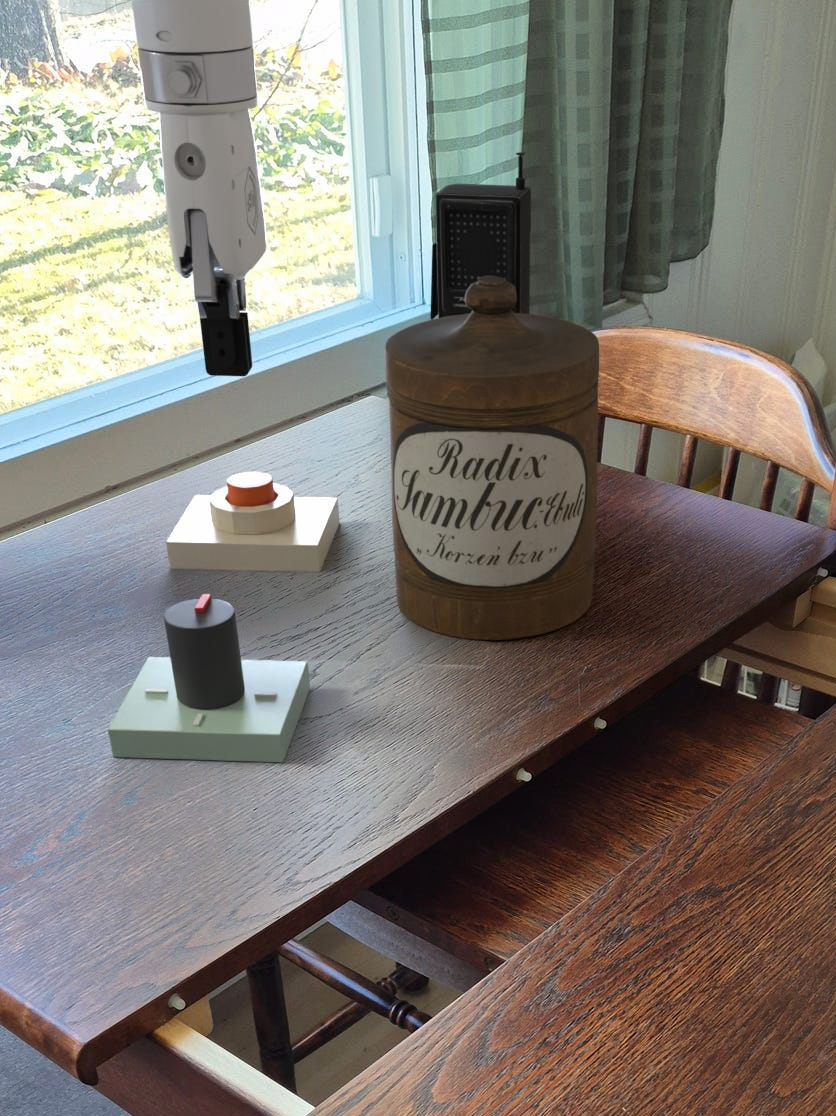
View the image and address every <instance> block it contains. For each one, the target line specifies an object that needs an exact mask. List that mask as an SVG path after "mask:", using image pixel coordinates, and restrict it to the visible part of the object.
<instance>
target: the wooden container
mask: <svg viewBox="0 0 836 1116" xmlns="http://www.w3.org/2000/svg"><path fill="white" fill-rule="evenodd" d="M516 300H517V294H516V289H515V287H514V285H513V284H511V283H509V282H506V280H505V279H504V278H501V277H497V276H483V277H480V278H479V279H478V281H477V282H475V283H473V284H471V285H470V287H469V288H468V289H467V291H466V293H465V303H466V305H467V306H468V307H469V308H470V309H471V310H472V312H471V313H470V314H462V315H454V316H448V317H442V318H439V317H438V318H434V319H433V320H431V319H429V320H426V321H422V322H417V323H415V324H413V325H409V326H407V327H405V328H403V329H400V330H399V331H397V332H395V333H394V334H392V335H391V336H390V337H389V338H388V339H386V342H385V346H384V375H385V376H384V378H385V385H386V388H385V389H386V396H387V398H388V413H389V414H388V415H389V445H390V446H389V447H390V449H389V450H390V478H391V479H390V490H391V491H390V492H391V495H390V497H391V499H390V500H391V520H392V521H391V522H392V526H391V527H392V545H393V546H392V548H393V552H394V573H395V574H394V576H395V591H396V603H397V605H398V608H399V610H400V611H401V612H402V613H403V615H404V616H405V617H406V618H407V619H409V620H410V621H412V622H413V623H414V624H417V625H418V626H420V627H423V628H424V629H427V630H429V631H432V632H435V633H437V634H442V635H446V636H449V637H454V638H455V637H456V638H460V639H468V640H479V641H480V640H481V641H484V640H485V641H505V640H506V641H507V640H517V639H524V638H525V639H526V638H530V637H531V638H532V637H536V636H539V635H543V634H547V633H550V632H553V631H556V630H559V629H561V628H564V627H566V626H569V625H570V624H572V623H574V622H575V621H577V620H578V619H580V618H581V617H582V616H583V615H584V614H585V613H586V612H587V611H588V610H589V608H590V607H591V603H592V601H593V595H594V578H595V575H594V574H595V552H596V551H595V550H596V539H597V515H598V514H597V511H598V506H597V505H598V439H599V430H598V429H599V393H598V392H599V376H600V342H599V339H598V337H597V335H596V334H594V333H593V332H592V331H591V330H589V329H587V327H586V328H585V327H584V326H581V325H579V324H577V323H574V322H571V321H568V320H566V319H561V318H557V317H556V318H555V317H552V316H547V315H542V314H541V315H540V314H533V313H532V314H531V313H529V314H522V313H514V312H513V311H512V309H513V308H514V306H515V303H516Z"/></svg>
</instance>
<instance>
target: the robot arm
mask: <svg viewBox="0 0 836 1116" xmlns="http://www.w3.org/2000/svg"><path fill="white" fill-rule="evenodd" d="M131 4H132V12H133V20H134V28H135V36H136V43H137V47H138V48H137V53H138V61H139V68H140V76H141V84H142V91H143V92H142V93H143V100H144V107H145V108H146V109H147V110H148V111H152V112H156V113H158V117H159V118H158V120H159V137H160V149H159V150H160V152H161V164H162V166H161V167H162V178H163V188H164V198H165V199H164V200H165V209H166V219H167V227H168V235H169V242H170V249H171V255H172V261H173V265H174V268H175V271H176V272H177V274H178V275H179V276H181V277H182V278H184V279H188V278H190V277H191V276H192V278H193V279H192V280H193V295H194V300H195V302H197V303H196V304H197V307H198V308H197V310H198V315H199V322H200V323H199V324H200V332H201V341H202V349H203V358H204V367H205V372H206V374H207V375H209V376H213V377H214V376H215V377H246V376H248V374H249V373H250V371H251V370H252V368H253V357H252V346H251V334H250V325H249V323H250V322H249V314H248V312H246V310H247V293H246V276H247V275H248V274H249V273H250V272H251V271H252V270H253V268H254V267H255V266H257V264H258V263H259V261H260V260H261V259H262V258H263V256H264V254H265V253H266V251H267V246H268V240H267V239H268V237H267V230H266V221H265V213H264V212H265V211H264V204H263V196H262V187H261V178H260V171H259V163H258V154H257V148H256V141H255V135H254V127H253V124H252V123H253V122H252V118H251V112H250V110H252V109H255V108H256V107H258V106H259V100H258V99H259V98H258V91H257V77H256V67H255V66H256V65H255V64H256V63H255V55H254V54H255V52H254V46H253V43H254V42H253V29H252V17H251V3H250V0H131Z"/></svg>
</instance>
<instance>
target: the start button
mask: <svg viewBox="0 0 836 1116" xmlns="http://www.w3.org/2000/svg"><path fill="white" fill-rule="evenodd" d="M273 483H274V479H273V476H272V475H270V474H269V473H267V472H263V471H252V470H251V471H242V472H238V473H235V474H232V475H230V476H229V477H228V478H227V479H226V486H227V488H228V496H229V503H230V504H232V505H235V506H239V507H255V506H260V505H266V504H268V503H271V502H273V501H275V497H274V487H273Z"/></svg>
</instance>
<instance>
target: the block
mask: <svg viewBox="0 0 836 1116" xmlns="http://www.w3.org/2000/svg"><path fill="white" fill-rule="evenodd" d="M273 487H274V497H275V501H273V502H271V503H268V504H266V505H260V506H255V507H239V506H235V505H232V504H230V503H229V496H228V488H227V485H226V486H224V487H222V488H220V489H217V490H215V491H214V492H213V493H212V494H194V496H193V498H192V499H191V500H190V503H189V504H188V506H187V508H186V509H185V511H184V513H183V514H182V515H181V517H180V519H179V520H178V522H177V523H176V525H175V527H174V528H173V530H172V532H171V533H170V535H169V537H168V538H167V540H166V541H165V545H166V546H165V547H166V552H167V559H168V564H169V569H170V570H206V571H207V570H211V571H213V570H214V571H250V572H252V571H253V572H257V571H258V572H293V573H295V572H298V573H299V572H300V573H321V571H322V568H323V566H324V563H325V560H326V559H327V556H328V553H329V551H330V548H331V546H332V544H333V541H334V538H335V536H336V533H337V530H338V528H339V526H340V523H341V522H340V512H339V511H340V510H339V499H338V497H323V496H322V497H320V496H319V497H318V496H317V497H316V496H308V497H307V496H295V493H294V492H293V491H292V490H291V489H290V488H289V487H288V486H286V485H283V484H278V483H274V482H273Z"/></svg>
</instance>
